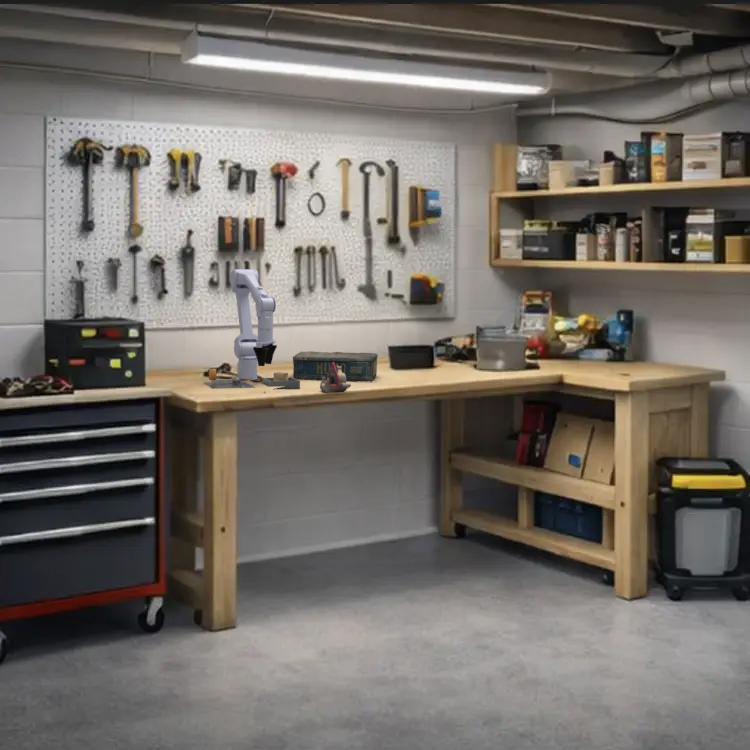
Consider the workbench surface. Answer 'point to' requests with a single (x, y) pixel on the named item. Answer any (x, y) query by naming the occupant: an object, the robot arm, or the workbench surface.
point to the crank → (213, 379)
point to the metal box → (320, 363)
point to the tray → (282, 383)
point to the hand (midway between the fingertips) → (264, 365)
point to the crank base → (228, 385)
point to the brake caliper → (334, 381)
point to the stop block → (280, 376)
